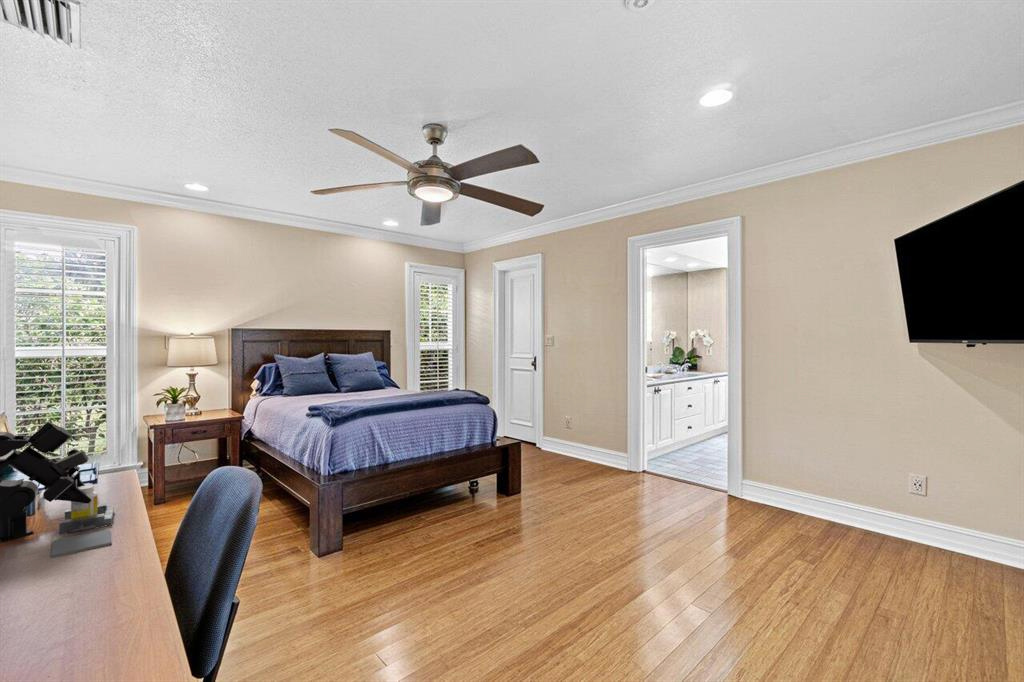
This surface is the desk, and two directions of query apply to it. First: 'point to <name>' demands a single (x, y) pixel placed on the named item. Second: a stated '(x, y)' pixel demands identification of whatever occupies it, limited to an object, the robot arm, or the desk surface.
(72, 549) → the slate pad
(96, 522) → the vise
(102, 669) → the desk surface
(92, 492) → the supplement bottle
